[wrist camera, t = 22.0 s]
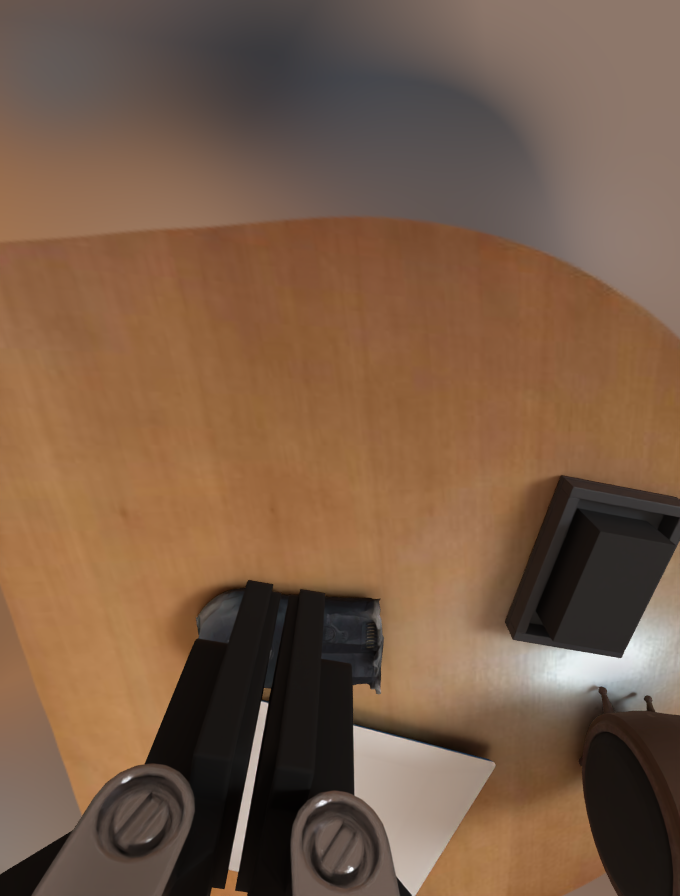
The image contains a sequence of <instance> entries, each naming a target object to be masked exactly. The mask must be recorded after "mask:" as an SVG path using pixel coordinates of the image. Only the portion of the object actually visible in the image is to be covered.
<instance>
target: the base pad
mask: <svg viewBox="0 0 680 896" xmlns="http://www.w3.org/2000/svg"><path fill="white" fill-rule="evenodd" d="M577 508H580V509H585V510H590V511H596V512H601V513H606V514H612V515H617V516H622V517H628V518H633V519H638V520H644V521H647V522H649V523H650V524H651V525H652V526H653V527H655V528H656V529H657V530H658V531H659V532H661V533H662V534H663V535H664V536H665V537H667V538H668V539H669V540H670V541H671V542H673V543H674V544H675V545H676V547H677V545H678V543H679V541H680V499H678V498H677V497H672V496H667V495H662V494H657V493H651V492H646V491H641V490H636V489H630V488H625V487H620V486H615V485H609V484H604V483H599V482H594V481H589V480H583V479H578V478H573V477H568V476H561V478H560V480H559V483H558V485H557V488H556V491H555V493H554V496H553V498H552V501H551V504H550V506H549V509H548V511H547V514H546V517H545V519H544V522H543V524H542V527H541V530H540V532H539V535H538V538H537V540H536V543H535V545H534V548H533V551H532V553H531V556H530V558H529V561H528V564H527V566H526V569H525V571H524V574H523V577H522V579H521V582H520V584H519V587H518V590H517V592H516V595H515V597H514V600H513V603H512V605H511V608H510V611H509V613H508V616H507V618H506V621H505V623H506V626H507V628H508V630H509V632H510V634H511V637H512V639H513V640H517V641H523V642H529V643H535V644H541V645H547V646H552V647H558V648H564V649H570V650H576V651H582V652H588V653H594V654H599V655H605V656H611V657H617V658H622V656H623V654H624V652H623V653H617V652H611V651H605V650H599V649H593V648H587V647H582V646H576V645H570V644H564V643H558V642H553V641H552V639H551V637H550V636H549V634H548V632H547V630H546V628H545V627H544V625H543V623H542V621H541V620H540V618H539V616H538V614H537V612H536V609H537V607H538V604H539V602H540V599H541V597H542V594H543V592H544V589H545V587H546V585H547V582H548V580H549V577H550V575H551V572H552V570H553V567H554V565H555V562H556V560H557V557H558V555H559V552H560V550H561V548H562V545H563V543H564V540H565V538H566V535H567V533H568V530H569V528H570V525H571V523H572V520H573V518H574V516H575V513H576V511H577ZM676 547H675V549H676ZM675 549H674V551H675ZM674 551H673V553H674ZM673 553H672V555H673ZM672 555H671V557H672ZM671 557H670V559H671ZM670 559H669V561H670ZM669 561H668V563H669ZM668 563H667V565H668ZM667 565H666V567H667ZM666 567H665V569H666ZM665 569H664V571H665ZM664 571H663V573H664ZM663 573H662V575H663ZM662 575H661V577H662ZM661 577H660V579H661ZM660 579H659V581H660ZM659 581H658V583H659ZM658 583H657V585H658ZM657 585H656V587H657ZM656 587H655V589H656ZM655 589H654V591H655ZM654 591H653V593H654ZM653 593H652V595H653ZM652 595H651V597H652ZM651 597H650V599H651ZM650 599H649V601H650ZM649 601H648V603H649ZM648 603H647V605H648ZM647 605H646V607H647ZM646 607H645V609H646ZM644 611H645V610H644ZM643 613H644V612H643ZM642 615H643V614H642ZM641 617H642V616H641ZM640 619H641V618H640ZM639 621H640V620H639ZM638 623H639V622H638ZM637 625H638V624H637ZM636 627H637V626H636ZM635 629H636V628H635ZM634 631H635V630H634ZM633 633H634V632H633ZM632 635H633V634H632ZM631 637H632V636H631ZM630 639H631V638H630ZM629 641H630V640H629ZM628 643H629V642H628ZM627 645H628V644H627ZM626 647H627V646H626ZM625 649H626V648H625Z"/></svg>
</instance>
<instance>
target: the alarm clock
mask: <svg viewBox="0 0 680 896" xmlns="http://www.w3.org/2000/svg"><path fill="white" fill-rule="evenodd" d="M598 690H599V693H600V694H601V697H602V705H603V712H604V714H602V715H600V716H598V717H596V718H595V719H594V720H593V722H592V723H591V725H590V727H589V729H588V731H587V735H586V738H585V743H584V750H583V758H582V757H581V758H579V764H580V765H581V766H582V781H583V791H584V798H585V804H586V810H587V815H588V819H589V823H590V827H591V831H592V835H593V838H594V841H595V845H596V847H597V850H598V853H599V856H600V859H601V861H602V864H603V866H604V869H605V871H606V873H607V875H608V877H609V879H610V882H611V884H612V886H613V887H614V889H615V891H616V893H617V895H618V896H680V716H679V715H671V714H664V713H657V712H655V710H654V708H653V705H652V703H651V702H652V698H651V697H650V696H648V695H647V696H645V697H644V700H645V701H646V703H647V711H628V712H618V713H615V712H614V710H613V708H612V706H611V703H610V701H609V699H608V697H607V695H606V694H607V690H606V688H604V687H600V688H599V689H598Z"/></svg>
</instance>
